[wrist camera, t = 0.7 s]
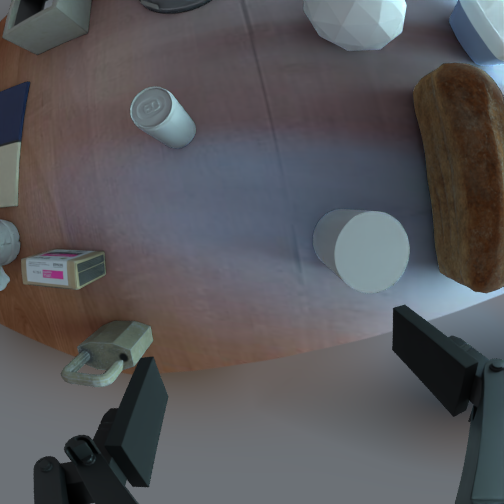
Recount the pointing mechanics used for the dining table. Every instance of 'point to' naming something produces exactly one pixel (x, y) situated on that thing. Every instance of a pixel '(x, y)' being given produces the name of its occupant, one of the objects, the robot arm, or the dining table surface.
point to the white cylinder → (362, 248)
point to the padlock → (109, 352)
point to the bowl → (480, 30)
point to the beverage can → (162, 117)
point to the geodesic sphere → (357, 21)
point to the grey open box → (46, 23)
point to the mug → (7, 248)
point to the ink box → (63, 268)
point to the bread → (465, 171)
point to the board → (11, 140)
